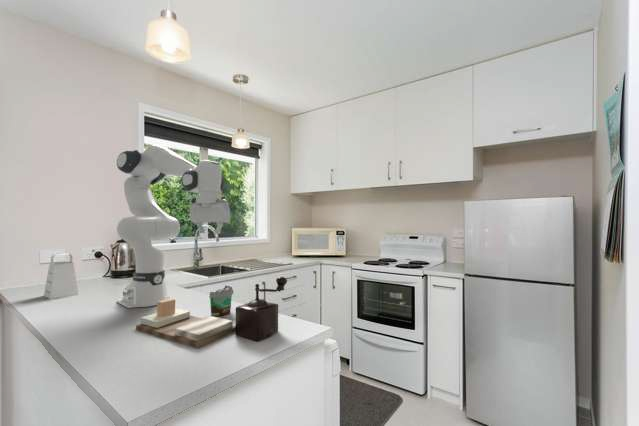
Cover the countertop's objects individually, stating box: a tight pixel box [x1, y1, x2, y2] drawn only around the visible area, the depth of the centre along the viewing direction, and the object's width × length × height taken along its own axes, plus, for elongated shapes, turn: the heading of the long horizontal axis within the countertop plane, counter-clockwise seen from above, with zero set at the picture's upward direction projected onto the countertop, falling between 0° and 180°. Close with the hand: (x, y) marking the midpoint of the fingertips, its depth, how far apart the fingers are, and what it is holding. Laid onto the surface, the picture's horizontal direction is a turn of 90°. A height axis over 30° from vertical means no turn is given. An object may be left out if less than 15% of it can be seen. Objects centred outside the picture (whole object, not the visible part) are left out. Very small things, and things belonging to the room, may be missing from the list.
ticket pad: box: [135, 314, 235, 349], centre depth 103 cm, size 31×16×4 cm, turn 62°
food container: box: [208, 285, 234, 318], centre depth 121 cm, size 12×6×10 cm, turn 168°
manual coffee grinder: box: [234, 276, 288, 343], centre depth 103 cm, size 16×11×18 cm
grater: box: [43, 253, 79, 300], centre depth 148 cm, size 10×10×20 cm
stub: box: [140, 297, 191, 328], centre depth 109 cm, size 9×13×7 cm
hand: (209, 233), depth 123 cm, fingers open, 8 cm apart
